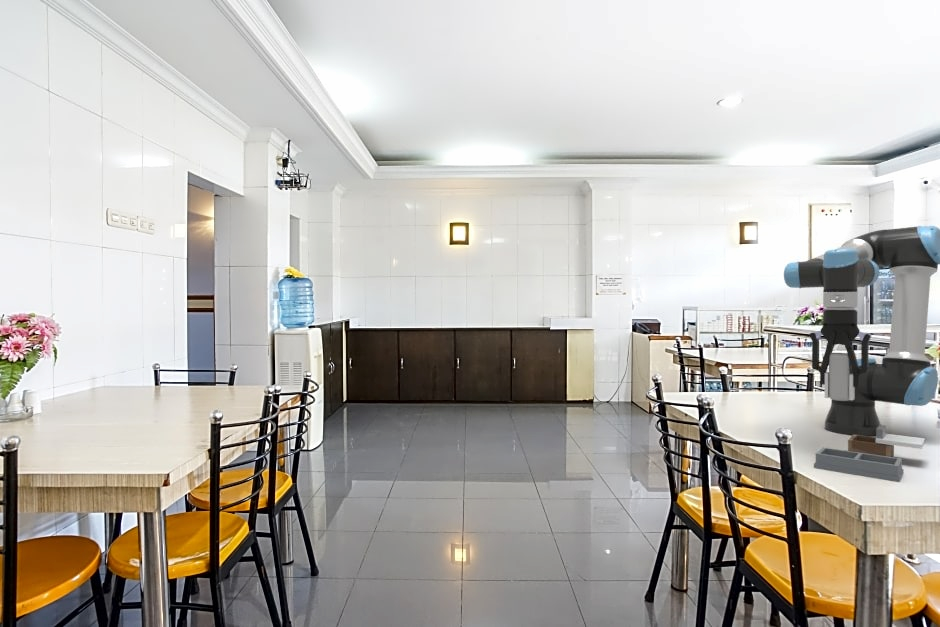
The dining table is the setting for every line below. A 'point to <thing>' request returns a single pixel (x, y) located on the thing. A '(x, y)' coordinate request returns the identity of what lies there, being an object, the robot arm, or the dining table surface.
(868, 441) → the tray
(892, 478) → the socket board
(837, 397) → the beverage can
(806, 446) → the dining table surface
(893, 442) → the lid
